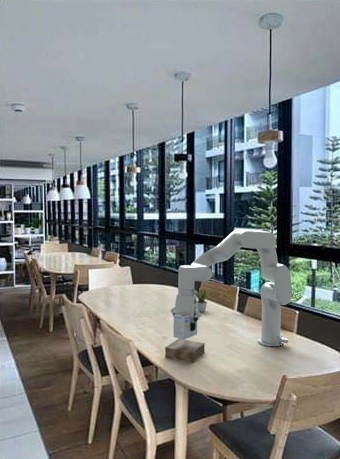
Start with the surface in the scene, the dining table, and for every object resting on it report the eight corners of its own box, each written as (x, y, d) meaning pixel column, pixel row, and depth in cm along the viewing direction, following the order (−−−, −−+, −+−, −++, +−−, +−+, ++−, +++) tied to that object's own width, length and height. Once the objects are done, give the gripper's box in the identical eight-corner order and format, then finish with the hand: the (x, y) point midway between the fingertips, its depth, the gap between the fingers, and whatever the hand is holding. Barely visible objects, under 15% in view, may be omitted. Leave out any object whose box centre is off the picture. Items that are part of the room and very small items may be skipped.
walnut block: (204, 353, 185) (204, 343, 185) (192, 363, 173) (193, 352, 173) (178, 348, 192) (178, 338, 191) (165, 357, 179) (165, 347, 179)
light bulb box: (186, 331, 188) (186, 309, 187) (197, 334, 184) (198, 312, 183) (172, 337, 180) (173, 314, 179) (184, 340, 175) (184, 317, 175)
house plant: (213, 308, 269) (214, 285, 268) (214, 313, 255) (214, 289, 255) (193, 307, 270) (193, 284, 270) (192, 313, 257) (192, 288, 256)
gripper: (206, 292, 179) (205, 330, 180) (174, 288, 188) (173, 324, 189) (198, 295, 173) (198, 334, 174) (166, 290, 182) (165, 327, 183)
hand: (185, 328), depth 182 cm, fingers closed on light bulb box, 7 cm apart
